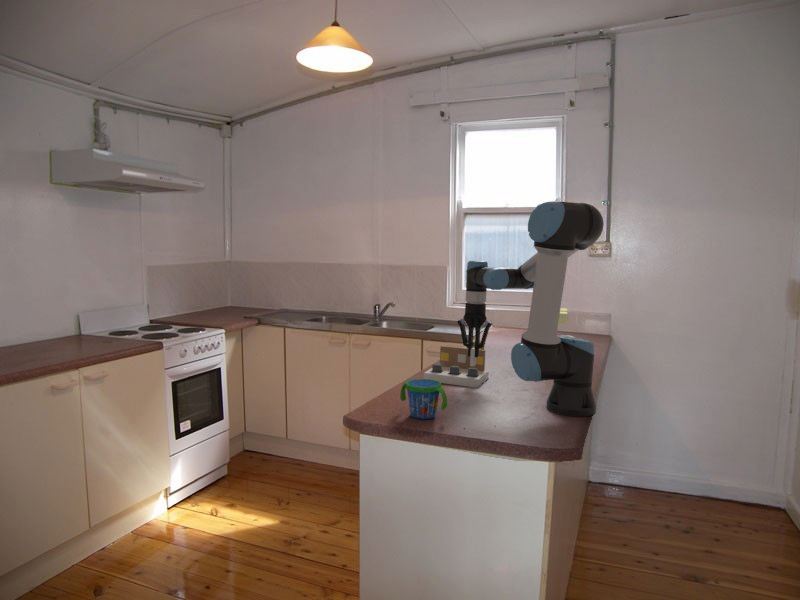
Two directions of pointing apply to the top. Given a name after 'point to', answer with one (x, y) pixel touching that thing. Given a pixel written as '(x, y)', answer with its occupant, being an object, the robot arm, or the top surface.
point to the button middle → (454, 370)
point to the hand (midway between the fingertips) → (472, 365)
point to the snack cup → (423, 397)
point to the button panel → (461, 359)
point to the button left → (437, 368)
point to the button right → (472, 372)
